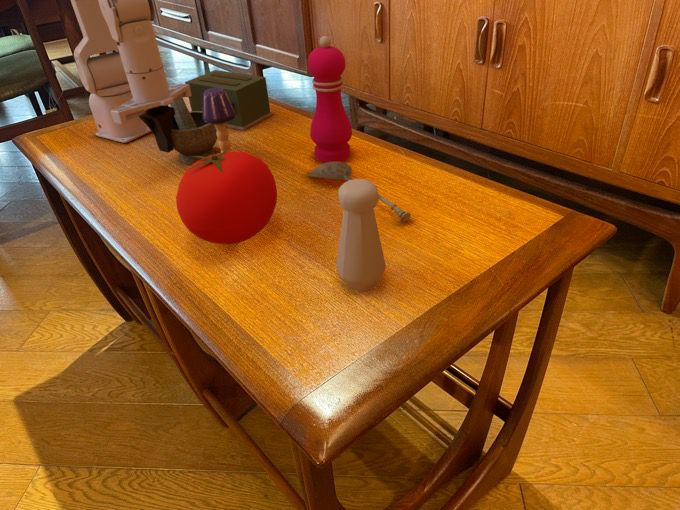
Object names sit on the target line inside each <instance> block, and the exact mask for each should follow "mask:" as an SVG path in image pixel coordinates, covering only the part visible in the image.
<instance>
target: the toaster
mask: <svg viewBox="0 0 680 510" xmlns="http://www.w3.org/2000/svg"><path fill="white" fill-rule="evenodd" d="M184 84H189V86H190V90H191V95H192V96H190V97H188V101H189V106H190V110H191V111H203V93H204V91H205V90H207V89H210V88H223V89H224V90H225V91H226V93H227V95H228V97H229V100H230V102H231V104H232V106H233V108H234V110H235V113H236V116H235V118H234V119H232V120H230V121H228V122H226V123H227V128H229V129H234V130H238V131H245V130H247V129H250V127H253V126H254V125H257V124H258V123H260V122H262V121H264V120H265V119H267V118H270V117H271V116H273V112H272V111H271V107H270V101H269V99H270V98H269V91H268V84H267V78H266V76H262V75H261V76H260V75H254V74H253V75H252V74H246V73H239V72H233V71H226V70H219V69H214V70H211V71H209V72H207V73H204V74H201V75H199V76H197V77H194V78H192V79H189V80H187V81H185V82H184Z"/></svg>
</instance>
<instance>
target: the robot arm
mask: <svg viewBox="0 0 680 510" xmlns="http://www.w3.org/2000/svg"><path fill="white" fill-rule="evenodd" d="M70 3H71V6H72V8H73V11H74V15H75V17H76V21H77V22H78V25H79V28H80V31H81V33H82V39H81V41H79V43H78V44H77V45H76V46H75V49H74V51H73V58H74V61H75V64H76V70H77V74H78V75H79V76H78V77H79V79H80V81H81V83H82V85H83V87H84V88H85V91H87V92H88V93H90V94H89V97H88V98H89V99H88V105H89V107H90V111H91V114H92V117H93V119H94V122H95V126H96V128H97V132H95V133H94V134H95V136H96V137H99V138H103V139H107V140H110V141H115V142H117V143H122V144H128V143H129V142H131V141H133V140H136V139H138V138H140V137H142V136H144V135H147V134H148V133H152V134H153V136H154V138H155V142H156V146H157V147H158V150H159V151H160V152H163V153H170V152H172V151H174V149H173V143H172V139H171V128H172V122H173V119H174V116H175V110H174V108H173V107H171V106H169V105H170V104H171V103H173V102H174V101H176V100H179V99H181V98H183V99H184V98H189V97H190V96H192V95H191V90H190V86H189V84H185V83H183V82H182V83H178V84H175V85H170V86H171V87H170V86H169V85H168V82H167V76H166V73H165V69H164V64H163V60H162V56H161V53H160V49H159V46H158V41H157V37H156V33H155V29H154V25H153V22H154V21H155V19H156V10H155V9H156V8H155V4H154V0H70ZM108 52H109V53H108ZM98 54H100V55H98ZM93 55H95V56H93Z"/></svg>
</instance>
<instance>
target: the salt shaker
mask: <svg viewBox="0 0 680 510" xmlns="http://www.w3.org/2000/svg"><path fill="white" fill-rule="evenodd" d="M352 179H353V180H349V181H345V182H343V183H342V184H341V185H340V186H339V188H338V191H337V197H338V204H339V206H340V207H341V209H343V212H342V218H341V219H342V220H341V227H340V234H339V241H338V248H337V254H336V261H335V265H336V272H337V274H338V276H339V277H340V278H341V279H342V281H343V282H344V283H345V284H346V286H347V288H348V290H351V291H356V292H360V293H361V292H362V293H365V292H367V291H369V290H372V289H374V288H377V287H378V285H379V284H380V280H381V279H382V277H383V275H384V272H385V271H386V268H387V264H386V259H385V256H384V251H383V245H382V241H381V236H380V231H379V228H378V223H377V217H376V214H375V208H376V207H377V205H378V203H379V195H380V194H379V189H378V186H377V185H376V183H373V182H372V181H371V180H369V179H365V178H352Z"/></svg>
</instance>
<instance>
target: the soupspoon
mask: <svg viewBox="0 0 680 510" xmlns="http://www.w3.org/2000/svg"><path fill="white" fill-rule="evenodd" d="M352 174H353V168H352V166H351V165H350V164H348V163H346V162H344V161H342V162H337V161H334V162H327V163H322V164H319V165H318V166H316V167H315V168H313V169H312V170H311V172H310V173H309V174H308V177H310V178H311V177H312V178H319V179H331V180H340V181H345V182H347V181H349V180H353V179H354V178H352V177H351V175H352ZM378 201H381V202H382V203H384V204H385V205H387V206H389V208H390V210H391V211H394V213H395V215H397V216H398V218H399V219H400V223H402V224H403V223H407V222H408V221H409V219H410V218H411V216H412V214H411V213H410V212H409V211H407V212H406V211H404V210H403V209H401V208H400V207H399V206H398V205H397V204H394V203H393V202H392V201H390V200H389V199H387V198H385V197H384V196H382V195H381V194H379V199H378Z"/></svg>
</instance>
